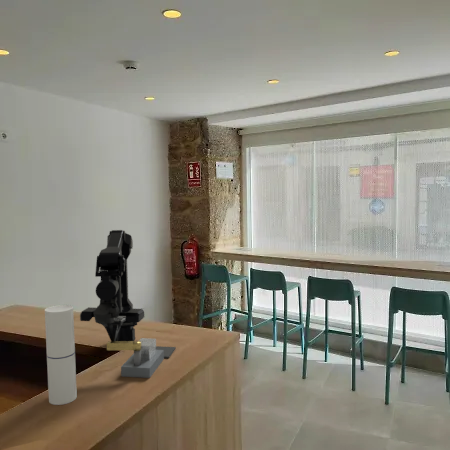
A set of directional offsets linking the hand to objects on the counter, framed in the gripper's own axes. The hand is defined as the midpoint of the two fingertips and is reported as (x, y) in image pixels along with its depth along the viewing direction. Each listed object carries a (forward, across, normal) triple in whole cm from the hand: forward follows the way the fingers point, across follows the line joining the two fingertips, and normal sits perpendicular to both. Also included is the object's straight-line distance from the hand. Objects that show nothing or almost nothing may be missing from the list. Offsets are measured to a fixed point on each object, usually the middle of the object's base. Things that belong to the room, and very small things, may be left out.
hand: (113, 341), depth 136 cm
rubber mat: (+10, +8, +17) cm, 21 cm away
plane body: (+10, +8, +5) cm, 13 cm away
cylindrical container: (+10, -7, -18) cm, 22 cm away
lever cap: (+7, +8, +7) cm, 12 cm away
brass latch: (+2, +4, -1) cm, 4 cm away
